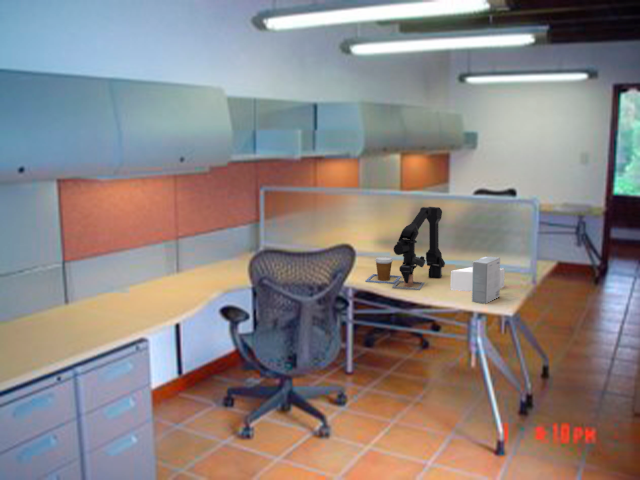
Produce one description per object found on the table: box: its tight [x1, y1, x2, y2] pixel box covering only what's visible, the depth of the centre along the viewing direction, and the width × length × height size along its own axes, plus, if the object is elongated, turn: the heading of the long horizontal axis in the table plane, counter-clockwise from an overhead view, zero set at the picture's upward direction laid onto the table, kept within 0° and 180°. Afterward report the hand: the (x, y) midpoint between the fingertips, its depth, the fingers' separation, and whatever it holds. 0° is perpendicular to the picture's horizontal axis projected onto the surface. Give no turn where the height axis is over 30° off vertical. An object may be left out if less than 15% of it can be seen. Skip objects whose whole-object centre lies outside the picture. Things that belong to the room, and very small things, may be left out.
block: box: [403, 273, 414, 288], centre depth 335 cm, size 4×4×6 cm
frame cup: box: [364, 273, 403, 285], centre depth 350 cm, size 16×16×1 cm
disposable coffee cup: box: [374, 256, 393, 282], centre depth 349 cm, size 10×10×12 cm
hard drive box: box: [471, 255, 501, 305], centre depth 306 cm, size 16×8×20 cm, turn 141°
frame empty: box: [391, 280, 426, 291], centre depth 336 cm, size 14×14×1 cm
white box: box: [450, 266, 506, 292], centre depth 328 cm, size 14×29×10 cm, turn 98°
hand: (408, 281), depth 335 cm, fingers open, 9 cm apart
